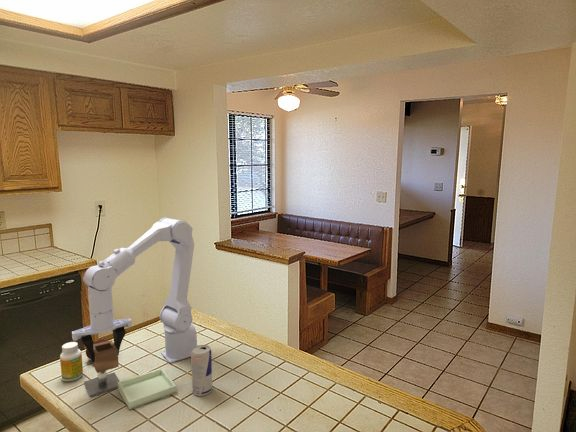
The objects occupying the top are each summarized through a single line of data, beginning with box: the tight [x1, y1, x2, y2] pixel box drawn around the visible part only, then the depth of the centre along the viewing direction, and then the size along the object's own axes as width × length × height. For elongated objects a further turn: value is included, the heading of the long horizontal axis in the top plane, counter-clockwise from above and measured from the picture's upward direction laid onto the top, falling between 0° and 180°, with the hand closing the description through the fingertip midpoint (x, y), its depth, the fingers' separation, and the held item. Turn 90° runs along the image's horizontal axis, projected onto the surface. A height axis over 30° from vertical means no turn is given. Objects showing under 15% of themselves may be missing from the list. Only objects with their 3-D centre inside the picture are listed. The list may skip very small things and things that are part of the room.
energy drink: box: [190, 344, 213, 397], centre depth 105 cm, size 5×5×12 cm
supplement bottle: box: [59, 341, 84, 382], centre depth 112 cm, size 5×5×10 cm
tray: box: [117, 367, 178, 411], centre depth 106 cm, size 12×11×2 cm
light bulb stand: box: [83, 370, 120, 398], centre depth 108 cm, size 8×8×5 cm
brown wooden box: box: [91, 339, 120, 374], centre depth 107 cm, size 7×5×5 cm
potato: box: [85, 339, 109, 360], centre depth 122 cm, size 7×8×6 cm
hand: (104, 357), depth 107 cm, fingers closed on brown wooden box, 5 cm apart
